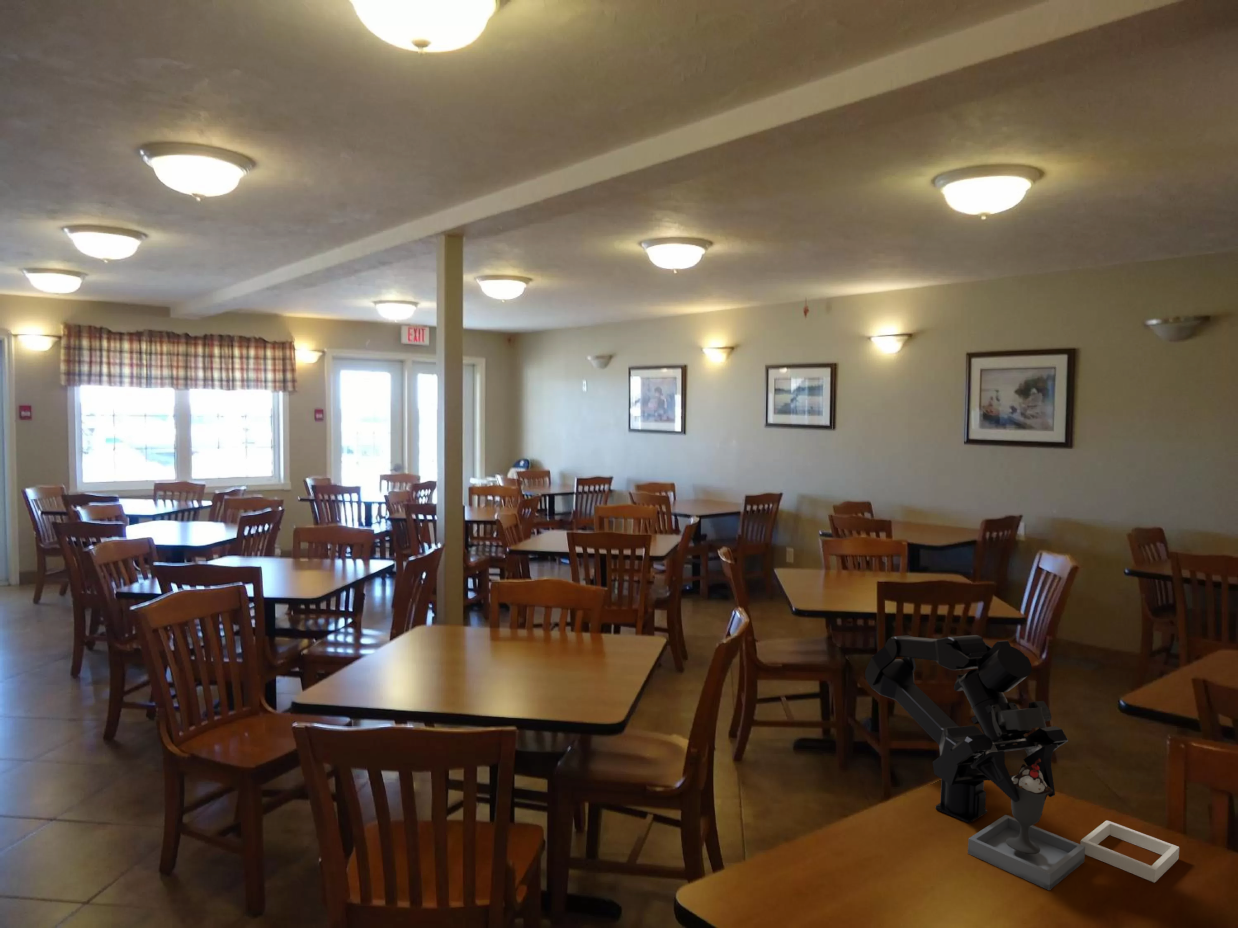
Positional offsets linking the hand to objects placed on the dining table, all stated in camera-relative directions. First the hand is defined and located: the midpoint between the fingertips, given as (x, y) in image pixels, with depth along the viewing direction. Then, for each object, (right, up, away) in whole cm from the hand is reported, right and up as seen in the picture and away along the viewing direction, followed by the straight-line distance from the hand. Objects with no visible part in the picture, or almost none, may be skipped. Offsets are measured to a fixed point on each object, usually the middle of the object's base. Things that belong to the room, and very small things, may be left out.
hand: (1035, 798), depth 127 cm
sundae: (-1, -8, +2) cm, 9 cm away
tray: (0, -10, +2) cm, 10 cm away
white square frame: (+17, -10, +3) cm, 20 cm away
